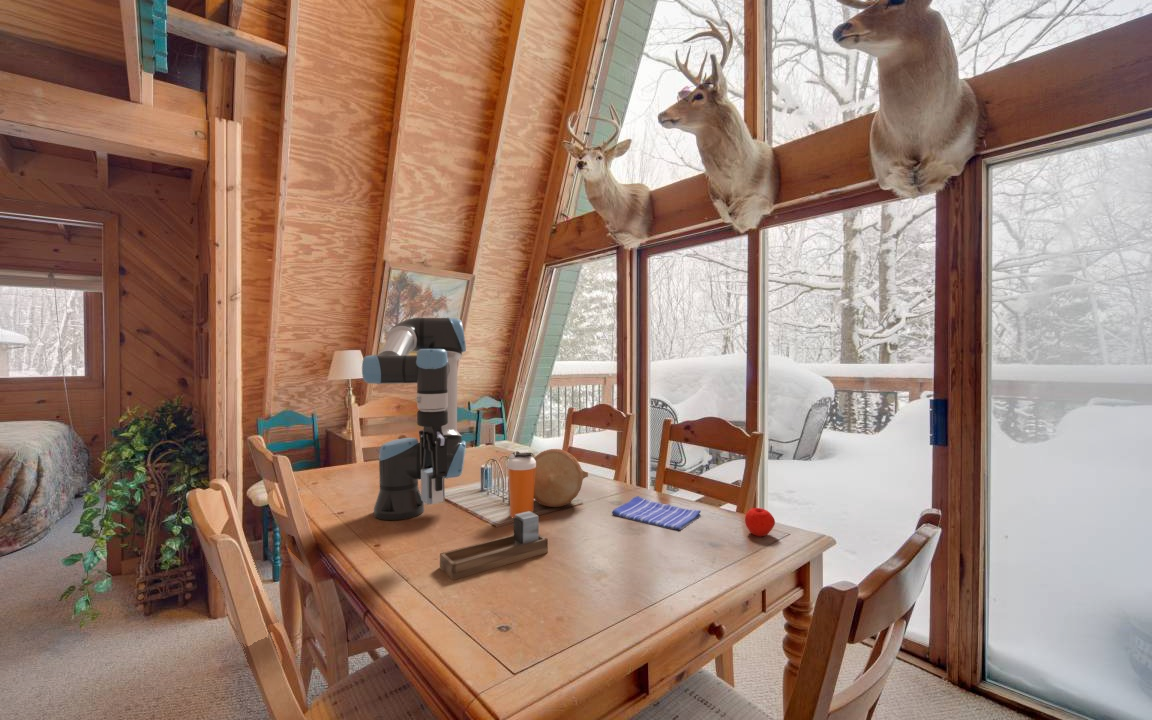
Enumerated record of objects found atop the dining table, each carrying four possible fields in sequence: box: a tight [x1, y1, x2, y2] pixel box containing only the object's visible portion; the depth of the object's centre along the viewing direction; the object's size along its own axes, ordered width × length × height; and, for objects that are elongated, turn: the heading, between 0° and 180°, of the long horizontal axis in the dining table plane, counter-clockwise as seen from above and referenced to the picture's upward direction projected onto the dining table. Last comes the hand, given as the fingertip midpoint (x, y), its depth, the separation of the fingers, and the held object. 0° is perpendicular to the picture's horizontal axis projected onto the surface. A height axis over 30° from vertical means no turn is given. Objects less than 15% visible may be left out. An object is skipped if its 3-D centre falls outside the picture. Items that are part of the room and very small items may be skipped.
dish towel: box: [611, 495, 702, 531], centre depth 161 cm, size 17×24×3 cm
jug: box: [533, 448, 589, 508], centre depth 177 cm, size 20×19×30 cm
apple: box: [744, 507, 776, 537], centre depth 145 cm, size 8×8×7 cm
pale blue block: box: [420, 468, 446, 505], centre depth 130 cm, size 4×5×8 cm
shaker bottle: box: [506, 450, 536, 519], centre depth 159 cm, size 9×9×20 cm
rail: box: [439, 511, 549, 581], centre depth 127 cm, size 8×26×10 cm, turn 126°
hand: (433, 499), depth 130 cm, fingers closed on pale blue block, 5 cm apart
